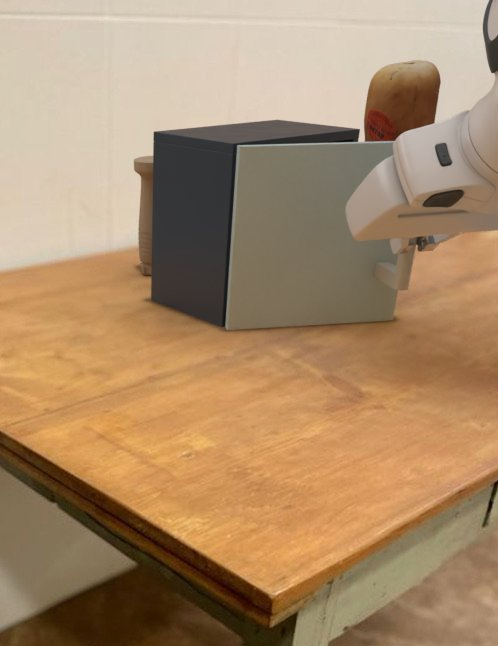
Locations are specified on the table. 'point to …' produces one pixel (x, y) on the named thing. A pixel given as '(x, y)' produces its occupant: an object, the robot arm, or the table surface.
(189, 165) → the cupboard
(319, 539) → the table surface
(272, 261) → the door
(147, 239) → the handle
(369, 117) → the butternut squash
